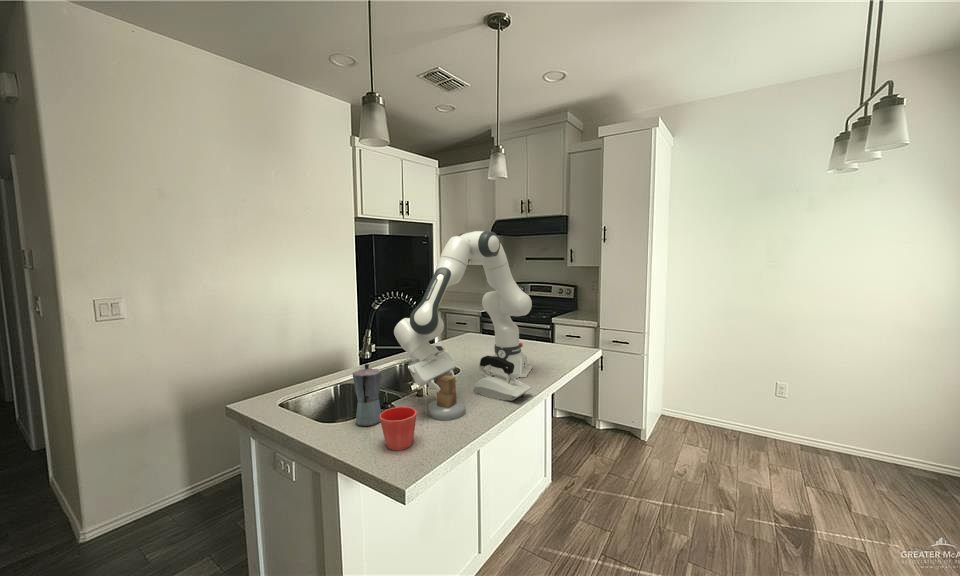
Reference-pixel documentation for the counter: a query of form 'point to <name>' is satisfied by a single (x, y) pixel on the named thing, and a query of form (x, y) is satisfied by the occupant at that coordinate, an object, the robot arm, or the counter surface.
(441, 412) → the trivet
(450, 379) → the walnut block
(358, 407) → the moka pot
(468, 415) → the counter surface
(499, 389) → the iron
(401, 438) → the flower pot
